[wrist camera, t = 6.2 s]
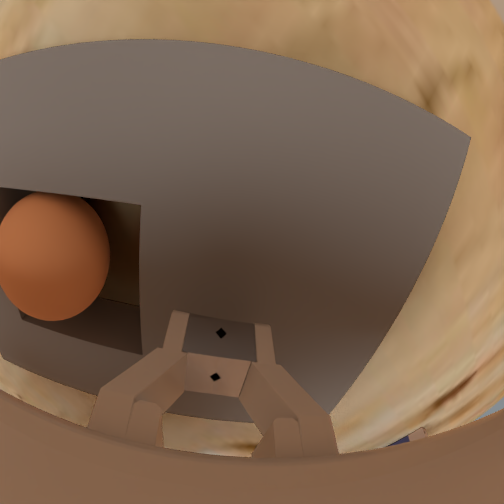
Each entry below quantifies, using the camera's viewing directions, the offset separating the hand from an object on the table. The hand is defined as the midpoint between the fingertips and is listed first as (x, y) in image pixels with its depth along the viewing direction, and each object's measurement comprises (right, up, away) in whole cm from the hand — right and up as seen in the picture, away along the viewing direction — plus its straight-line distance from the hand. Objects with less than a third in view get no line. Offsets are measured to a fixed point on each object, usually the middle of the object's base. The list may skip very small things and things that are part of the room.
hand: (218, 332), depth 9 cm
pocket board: (-3, +2, +3) cm, 5 cm away
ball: (-7, +2, 0) cm, 7 cm away
